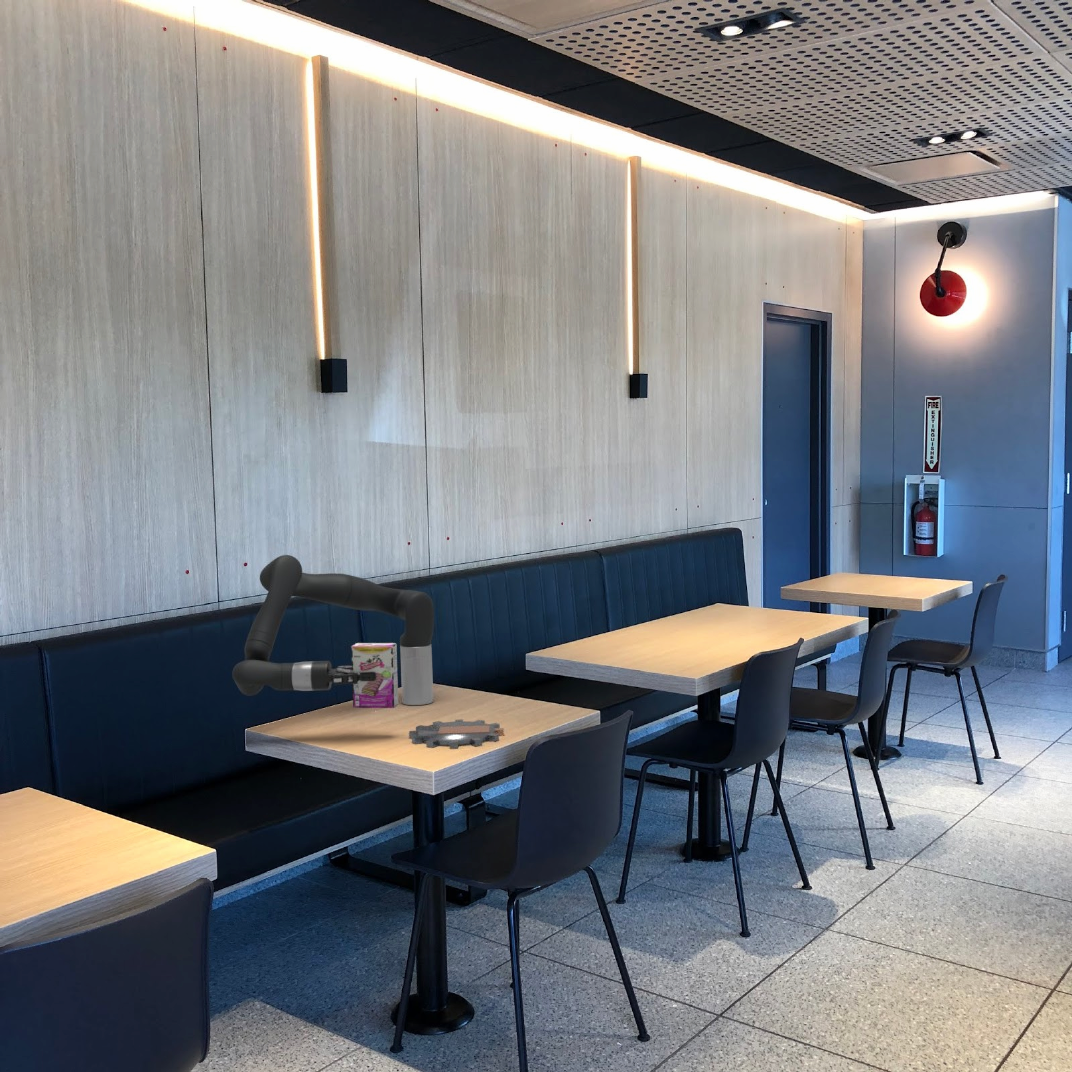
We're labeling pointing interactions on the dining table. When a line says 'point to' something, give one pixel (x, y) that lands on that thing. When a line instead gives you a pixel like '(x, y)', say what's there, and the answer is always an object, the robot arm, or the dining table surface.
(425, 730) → the sprocket plate
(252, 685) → the robot arm
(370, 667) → the candy bar box
